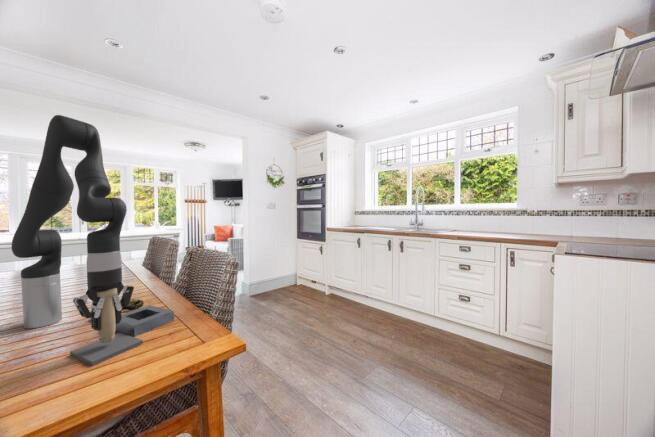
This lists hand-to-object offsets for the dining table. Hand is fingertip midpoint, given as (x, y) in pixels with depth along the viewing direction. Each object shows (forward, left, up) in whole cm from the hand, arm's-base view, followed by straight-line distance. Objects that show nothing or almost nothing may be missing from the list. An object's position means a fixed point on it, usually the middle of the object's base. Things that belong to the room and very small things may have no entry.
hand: (106, 326), depth 74 cm
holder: (-8, +14, -7) cm, 17 cm away
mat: (0, 0, -7) cm, 7 cm away
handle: (0, 0, -4) cm, 4 cm away
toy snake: (-29, +17, -7) cm, 35 cm away
